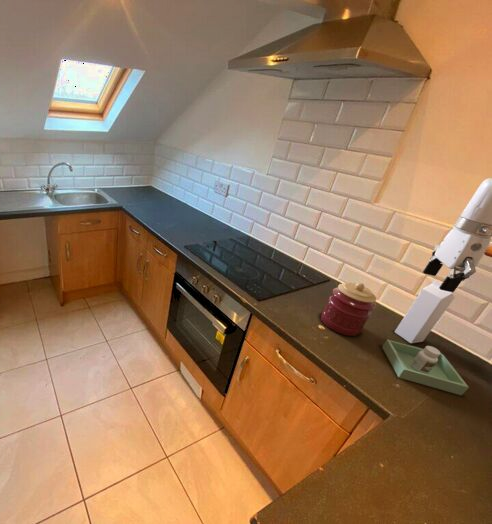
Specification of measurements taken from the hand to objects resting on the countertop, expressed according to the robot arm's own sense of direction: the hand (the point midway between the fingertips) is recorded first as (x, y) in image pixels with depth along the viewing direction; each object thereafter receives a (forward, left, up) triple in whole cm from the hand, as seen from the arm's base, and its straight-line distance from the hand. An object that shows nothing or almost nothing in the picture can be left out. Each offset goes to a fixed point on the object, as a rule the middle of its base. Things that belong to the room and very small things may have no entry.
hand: (436, 282), depth 86 cm
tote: (-5, +7, -27) cm, 28 cm away
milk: (-9, -11, -27) cm, 30 cm away
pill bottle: (-5, +7, -26) cm, 28 cm away
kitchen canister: (+14, -7, -27) cm, 31 cm away
